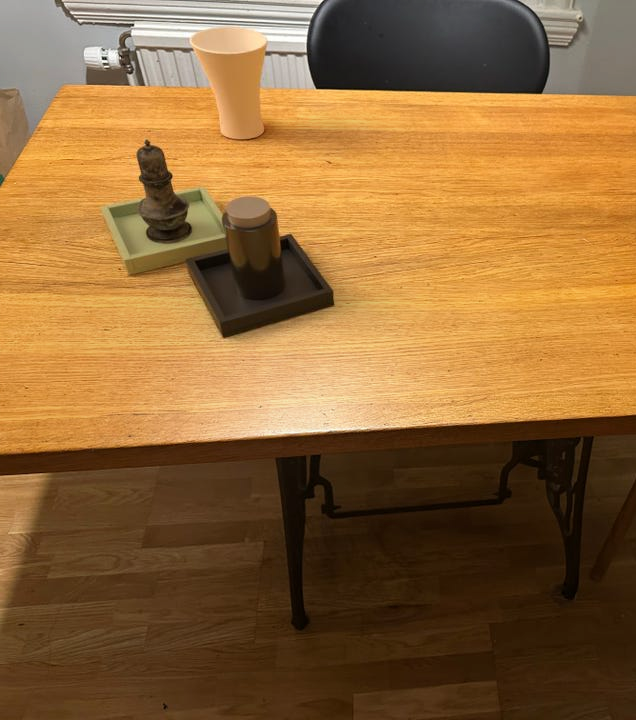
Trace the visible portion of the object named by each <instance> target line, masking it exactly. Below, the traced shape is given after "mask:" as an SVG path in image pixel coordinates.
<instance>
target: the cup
mask: <svg viewBox="0 0 636 720" xmlns="http://www.w3.org/2000/svg"><path fill="white" fill-rule="evenodd" d="M189 44H190V46H191V48H192V50H193V52H194V54H195V55H196V58H197V59H198V62H199V63H200V65H201V68H202V70H203V71H204V74H205V76H206V78H207V80H208V83H209V84H210V88H211V90H212V93H213V96H214V99H215V104H216V107H217V112H218V117H219V130H220V133H221V135H222V136H224V137H226V138H229V139H233V140H249V139H254V138H257V137H260V136H261V135H262V134H263V133H264V132H265V127H264V122H263V118H262V113H261V112H262V111H261V98H260V97H261V79H262V74H263V68H264V63H265V57H266V52H267V46H268V38H267V37H266V35H264V33H262V32H259V31H258V30H254V29H251V28H245V27H239V26H238V27H237V26H219V27H211V28H206V29H202V30H199V31H197V32H195V33H193V34H192V35H191V37H190V38H189Z"/></svg>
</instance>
